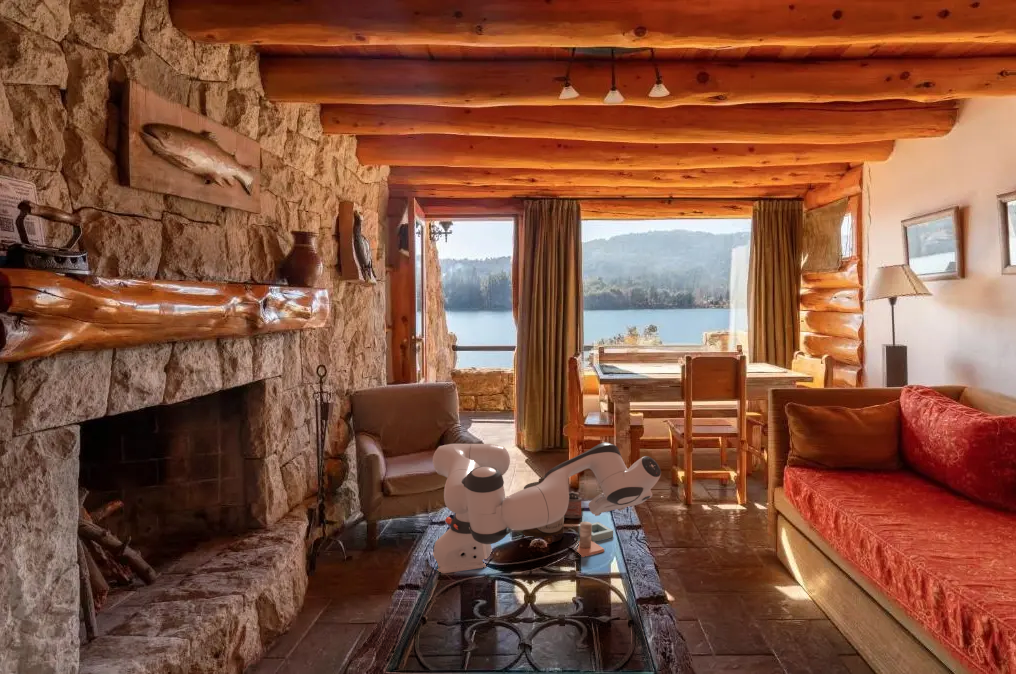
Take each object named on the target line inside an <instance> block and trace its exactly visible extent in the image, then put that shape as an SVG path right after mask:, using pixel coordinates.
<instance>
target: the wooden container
mask: <svg viewBox="0 0 1016 674" xmlns="http://www.w3.org/2000/svg"><path fill="white" fill-rule="evenodd" d="M543 481H544V476H543V477H540V478H538V481H533V482H530V483H527V484H526V485H524V486H523V489H526V488H529V487H533V486H536V485H538V484H540V483H542V482H543ZM564 521H565V518H564V516H563V517H562V518H561V519H560V520H558V521H556V522H554V523H551V524H548V525H545V526H541V527H537V528H533V529H526V530H522V536H523V535H525V536H534V537H546V536H551V535H558V534H561V533H564V534H565V531H564V529H565V527H564V525H565V524H564Z"/></svg>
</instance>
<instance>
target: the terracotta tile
mask: <svg viewBox="0 0 1016 674" xmlns="http://www.w3.org/2000/svg"><path fill="white" fill-rule="evenodd" d="M578 542H579V543H580V540H579V541H578ZM577 552H578V553H579V554H580V555H581V556H580V555H579V554H578V555H579V556H580V557H581V558H584V557H585V556H586V557H590V556H593V555H597V554H600V553H604V552H605V548H603V547H602V546H601V545H600V544H597V543H596V542H593V541H591V547H590V548H587V549H585V548H581V547H580V546H578V549H577ZM586 557H585V558H586Z"/></svg>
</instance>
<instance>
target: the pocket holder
mask: <svg viewBox="0 0 1016 674" xmlns="http://www.w3.org/2000/svg"><path fill="white" fill-rule="evenodd" d="M591 524H592V532H591V541H593V542H594V543H596V542H600V541H603V539H604V540H607V539H610V538H611V537H612V538H614V530H613V529H611V528H610V527H608V526H606V525H604V524H603V523H601V522H600V521H597V522H591ZM597 530H598V531H597ZM578 534H579V535H580V526H579V525H578Z"/></svg>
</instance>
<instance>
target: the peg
mask: <svg viewBox="0 0 1016 674" xmlns="http://www.w3.org/2000/svg"><path fill="white" fill-rule="evenodd" d="M579 525H580V534H579V541H580V543H579V546H580V547H581V548H585V549H587V548H590V547H591V532H592V522H590V521H581V522H580V523H579Z"/></svg>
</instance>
